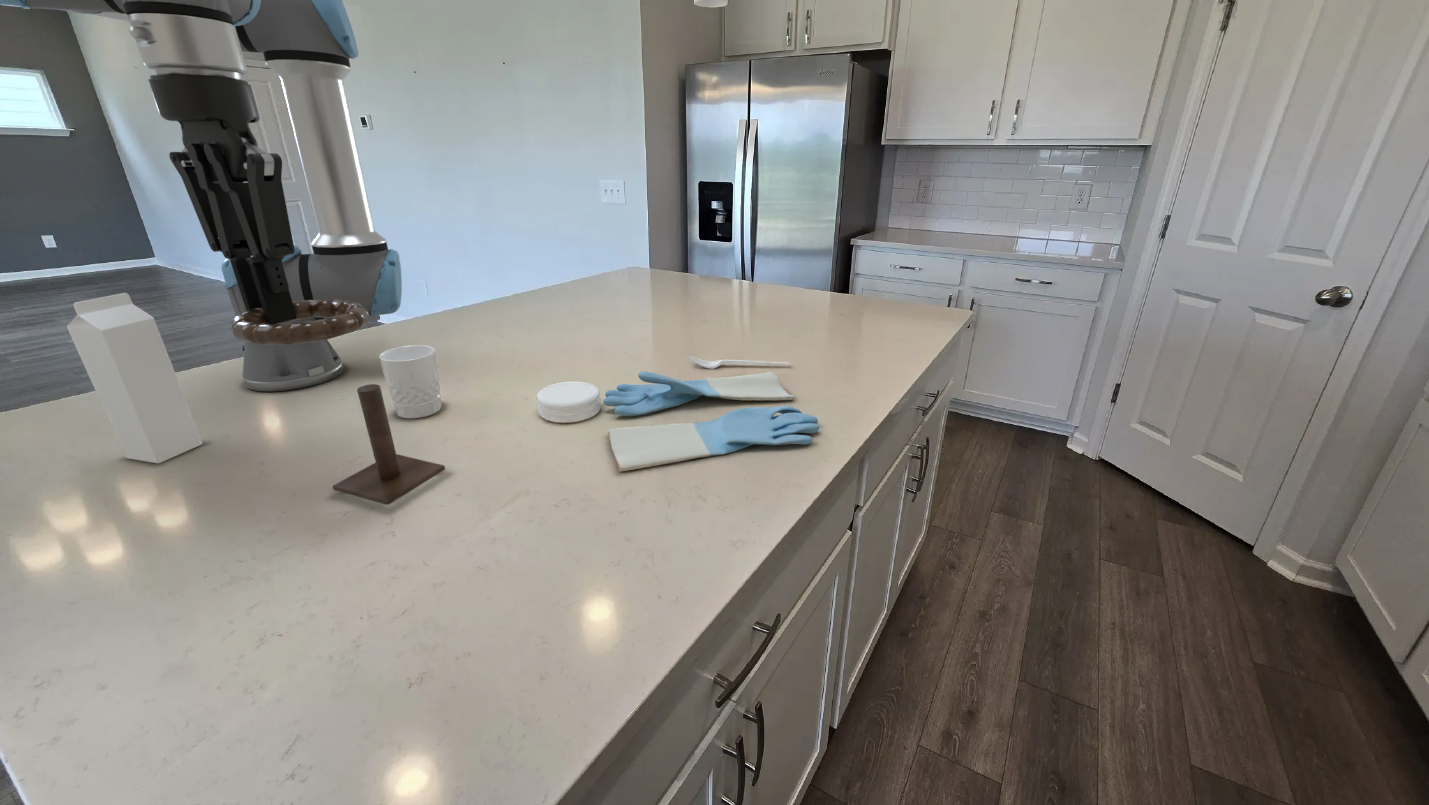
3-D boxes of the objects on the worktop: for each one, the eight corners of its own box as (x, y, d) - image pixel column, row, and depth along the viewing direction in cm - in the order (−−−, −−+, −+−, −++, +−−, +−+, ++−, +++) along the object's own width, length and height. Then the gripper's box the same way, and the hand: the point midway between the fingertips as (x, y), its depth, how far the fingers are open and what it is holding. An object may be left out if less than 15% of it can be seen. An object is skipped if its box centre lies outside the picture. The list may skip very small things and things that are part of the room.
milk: (125, 459, 80) (52, 301, 72) (172, 439, 86) (110, 290, 77) (159, 464, 79) (88, 304, 70) (204, 444, 84) (144, 293, 76)
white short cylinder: (526, 411, 96) (524, 391, 94) (577, 394, 103) (576, 375, 101) (561, 430, 90) (559, 409, 88) (613, 410, 96) (611, 391, 95)
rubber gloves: (838, 443, 86) (842, 403, 84) (618, 473, 78) (615, 430, 75) (770, 378, 110) (772, 346, 108) (596, 396, 102) (593, 361, 99)
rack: (335, 496, 72) (305, 395, 67) (395, 462, 80) (372, 370, 75) (389, 511, 69) (363, 407, 64) (446, 475, 77) (427, 380, 72)
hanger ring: (207, 337, 59) (200, 318, 59) (318, 310, 70) (314, 293, 69) (288, 353, 56) (283, 333, 55) (394, 322, 66) (390, 305, 65)
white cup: (425, 422, 92) (412, 362, 88) (381, 418, 93) (367, 358, 89) (455, 403, 99) (445, 346, 95) (414, 399, 100) (402, 343, 96)
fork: (790, 369, 115) (790, 360, 114) (689, 368, 115) (688, 359, 114) (788, 364, 118) (789, 355, 117) (690, 362, 118) (689, 354, 117)
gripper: (101, 73, 54) (191, 320, 63) (206, 68, 49) (287, 337, 58) (193, 81, 60) (262, 304, 70) (294, 77, 55) (354, 318, 65)
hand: (273, 319), depth 64 cm, fingers closed on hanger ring, 2 cm apart
